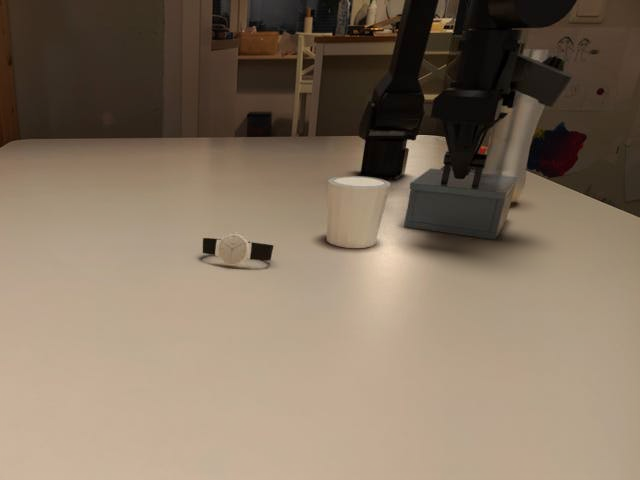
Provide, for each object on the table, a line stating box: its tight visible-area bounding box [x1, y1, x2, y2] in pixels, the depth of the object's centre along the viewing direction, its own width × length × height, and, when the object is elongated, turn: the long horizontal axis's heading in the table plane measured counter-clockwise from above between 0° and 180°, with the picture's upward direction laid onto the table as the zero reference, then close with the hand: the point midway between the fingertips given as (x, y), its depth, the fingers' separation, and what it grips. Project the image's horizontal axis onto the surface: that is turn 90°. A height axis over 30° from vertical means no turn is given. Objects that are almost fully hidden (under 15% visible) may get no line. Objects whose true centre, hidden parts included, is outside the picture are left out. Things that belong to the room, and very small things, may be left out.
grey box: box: [403, 184, 516, 240], centre depth 79 cm, size 10×11×5 cm
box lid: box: [409, 150, 517, 200], centre depth 76 cm, size 11×11×4 cm
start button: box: [478, 145, 488, 154], centre depth 105 cm, size 4×4×2 cm
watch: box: [202, 230, 274, 266], centre depth 66 cm, size 8×5×4 cm, turn 68°
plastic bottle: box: [482, 48, 549, 203], centre depth 85 cm, size 6×7×20 cm
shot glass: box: [326, 175, 391, 249], centre depth 71 cm, size 7×7×7 cm
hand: (461, 177), depth 74 cm, fingers closed
